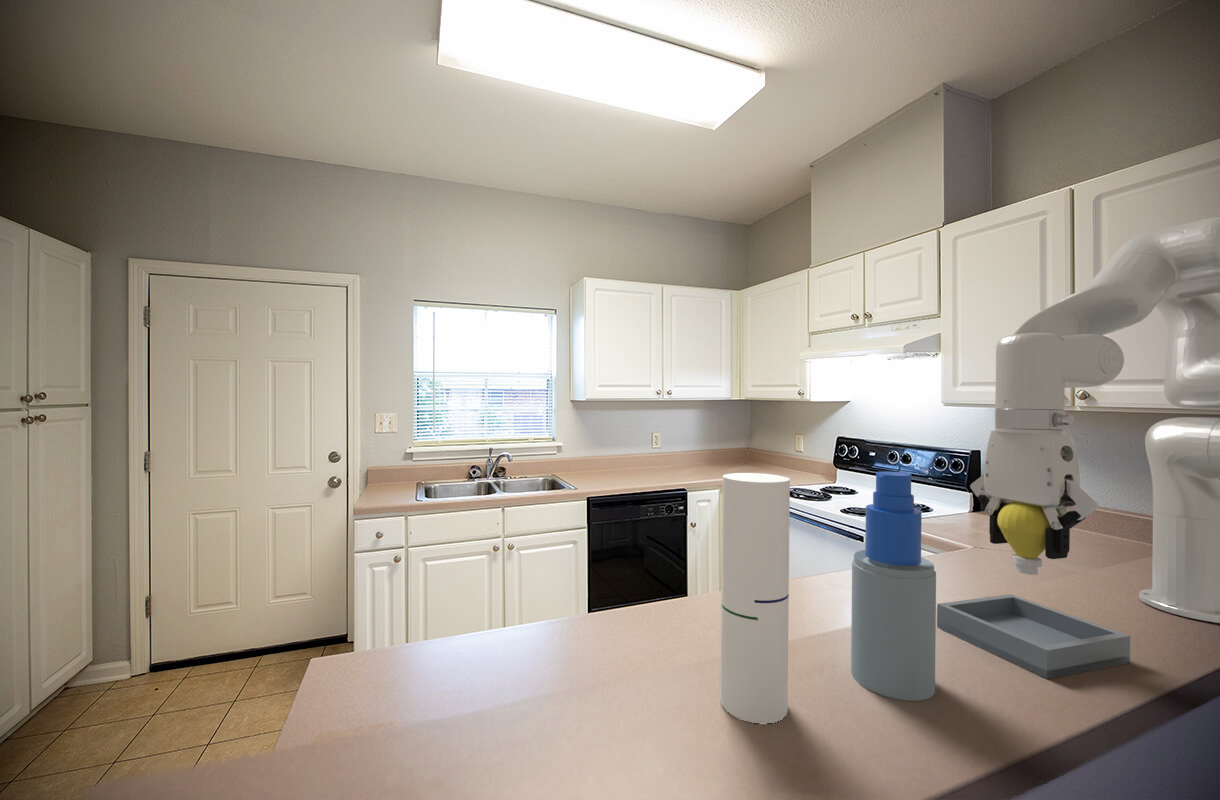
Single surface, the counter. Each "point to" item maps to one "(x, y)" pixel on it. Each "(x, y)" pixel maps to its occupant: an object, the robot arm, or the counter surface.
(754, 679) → the cylindrical container
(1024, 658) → the tray
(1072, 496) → the robot arm
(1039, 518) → the light bulb
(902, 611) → the spray bottle
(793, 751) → the counter surface
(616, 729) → the counter surface
